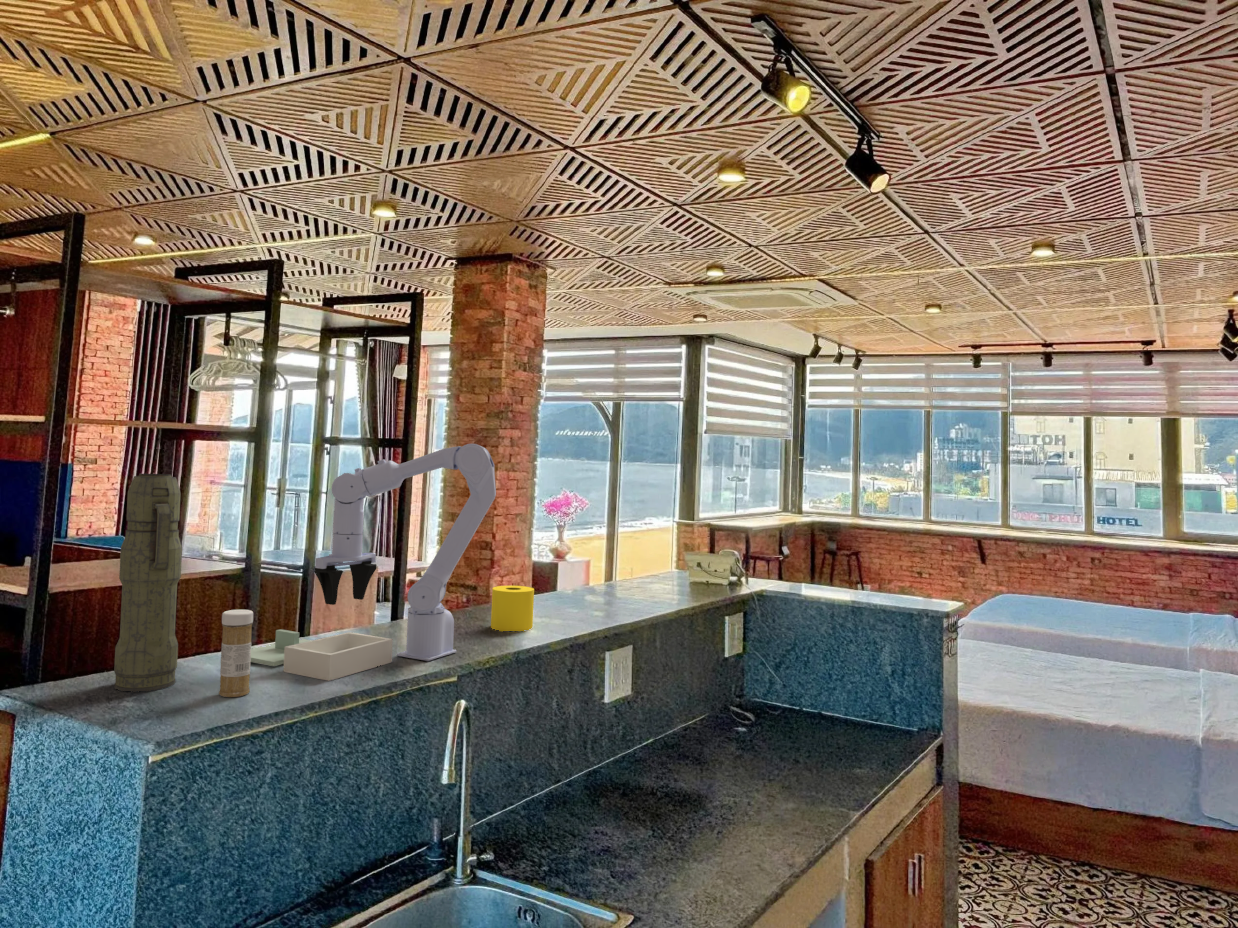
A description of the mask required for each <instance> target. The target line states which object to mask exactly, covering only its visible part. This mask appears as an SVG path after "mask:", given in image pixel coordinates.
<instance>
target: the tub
mask: <svg viewBox="0 0 1238 928" xmlns="http://www.w3.org/2000/svg"><path fill="white" fill-rule="evenodd" d="M393 640H394V639H393V638H390V637H389V638H388V637H383V636H382V637H381V636H377V635H370V634H363V633H357V632H352V631H351V632H350V631H347V632H343V633H340V634H335V635H330V636H326V637H325V636H324V637H322V638H318V639H313V640H312V641H308V642H304V643H299V644H295V645H290V646H286V647H285V649H284V664H283V673H288V674H293V675H296V676H297V675H298V676H303V677H307V678H312V679H318V680H323V681H327V682H328V681H329V682H330V681H334V680H337V679H339V678H340V679H341V678H343V677H347V676H350V675H353V674H356V673H360V672H363V671H366V670H370V669H374V668H376V667H377V666H378V667H381V666H384V665H388V664H390V663H391V664H392V660H393V643H394V642H393ZM380 665H381V666H380Z"/></svg>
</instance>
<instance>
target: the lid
mask: <svg viewBox="0 0 1238 928" xmlns="http://www.w3.org/2000/svg"><path fill="white" fill-rule="evenodd" d="M300 639H302V640H300ZM308 641H312V640H310V639H305V638H300V632H298V631H292V630H287V629H283V628H282V629H276V630H275V640H274V642H275V643H271V644H265V645H264V646H266V647H262V646H263V645H260V646H257V647H258V648H256V647H251V661H250V663H255V664H259V665H260V664H261V665H265V666H270V667H277V666H280V665H284V649H285V647H286V646H290V645H295V644H299V643H304V642H308ZM269 645H271V646H269Z"/></svg>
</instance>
